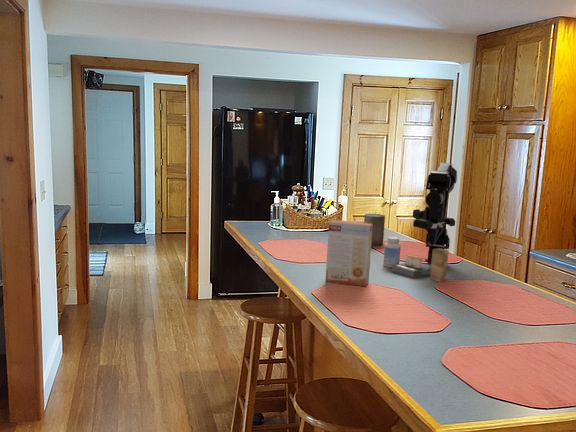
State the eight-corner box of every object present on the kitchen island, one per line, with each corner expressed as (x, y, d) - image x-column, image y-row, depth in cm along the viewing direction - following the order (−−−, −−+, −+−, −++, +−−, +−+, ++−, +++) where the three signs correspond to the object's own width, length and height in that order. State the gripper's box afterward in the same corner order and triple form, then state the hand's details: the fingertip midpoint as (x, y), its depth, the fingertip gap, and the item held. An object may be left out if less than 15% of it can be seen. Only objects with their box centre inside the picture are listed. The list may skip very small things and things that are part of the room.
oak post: (436, 277, 192) (439, 248, 191) (445, 280, 189) (448, 250, 188) (429, 278, 190) (432, 249, 188) (438, 281, 187) (442, 251, 185)
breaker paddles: (408, 263, 200) (409, 254, 199) (422, 267, 195) (423, 258, 194) (404, 264, 199) (405, 255, 198) (418, 268, 193) (419, 258, 193)
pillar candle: (386, 243, 252) (388, 212, 250) (378, 246, 244) (380, 214, 241) (367, 240, 257) (369, 210, 255) (359, 243, 249) (361, 212, 247)
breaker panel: (412, 268, 205) (413, 261, 204) (433, 274, 197) (434, 267, 196) (391, 271, 197) (392, 264, 197) (413, 278, 189) (413, 271, 189)
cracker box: (368, 283, 180) (373, 223, 177) (365, 287, 174) (370, 225, 171) (329, 277, 184) (333, 218, 181) (324, 281, 179) (328, 221, 176)
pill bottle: (399, 268, 203) (401, 240, 201) (383, 266, 204) (385, 238, 203) (398, 264, 209) (401, 237, 207) (383, 263, 210) (385, 235, 208)
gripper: (434, 200, 212) (430, 238, 214) (403, 202, 200) (400, 242, 203) (457, 204, 203) (453, 244, 205) (427, 206, 192) (423, 248, 194)
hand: (432, 244), depth 202 cm, fingers closed
